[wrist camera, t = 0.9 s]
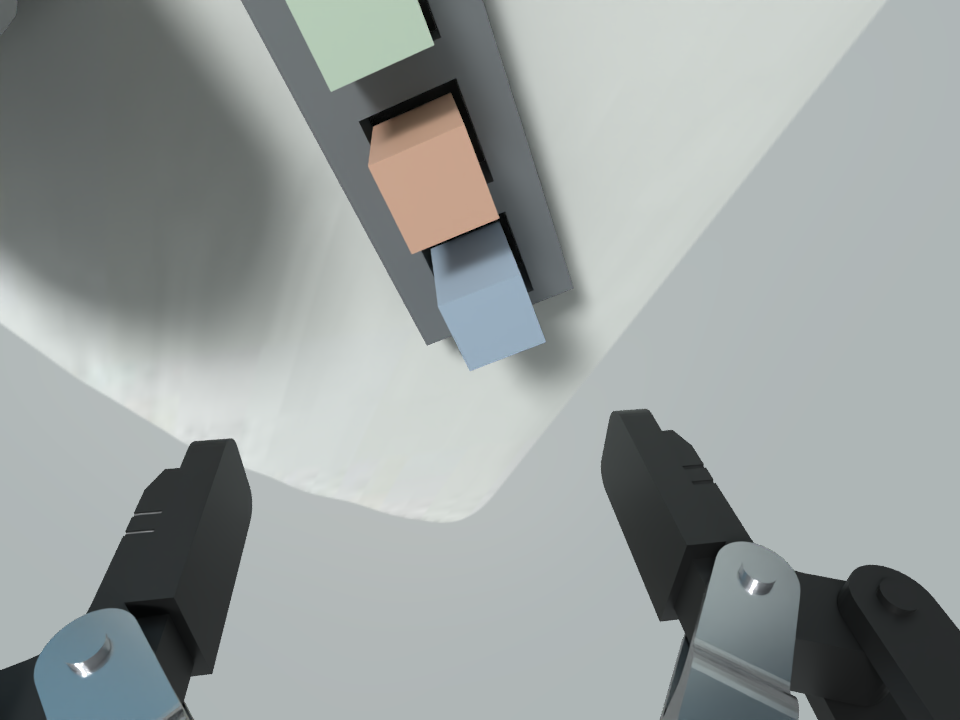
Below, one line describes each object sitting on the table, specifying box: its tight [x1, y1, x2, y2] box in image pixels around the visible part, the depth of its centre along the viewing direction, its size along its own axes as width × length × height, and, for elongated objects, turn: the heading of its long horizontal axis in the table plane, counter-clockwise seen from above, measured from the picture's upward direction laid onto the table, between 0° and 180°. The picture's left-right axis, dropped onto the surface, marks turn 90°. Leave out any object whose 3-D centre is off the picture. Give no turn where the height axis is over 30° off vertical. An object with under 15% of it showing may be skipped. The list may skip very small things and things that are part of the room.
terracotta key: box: [368, 92, 499, 254], centre depth 28 cm, size 4×4×7 cm
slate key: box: [431, 221, 546, 371], centre depth 32 cm, size 4×4×7 cm
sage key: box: [285, 0, 434, 92], centre depth 23 cm, size 4×4×7 cm
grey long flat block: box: [241, 0, 573, 345], centre depth 30 cm, size 10×30×4 cm, turn 20°
